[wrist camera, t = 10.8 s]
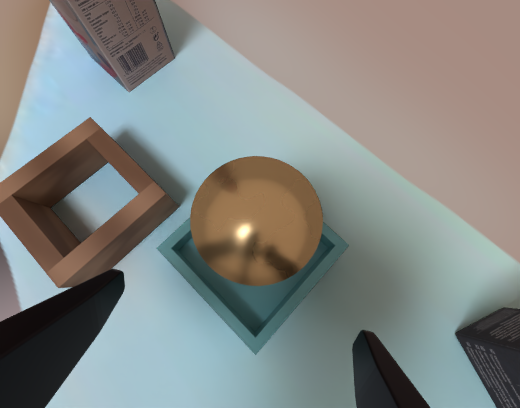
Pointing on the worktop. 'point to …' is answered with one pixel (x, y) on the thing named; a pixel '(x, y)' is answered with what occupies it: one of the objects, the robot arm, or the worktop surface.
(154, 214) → the brown square frame
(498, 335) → the box
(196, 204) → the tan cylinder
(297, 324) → the worktop surface
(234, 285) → the teal tray
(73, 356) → the robot arm
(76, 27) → the juice carton
